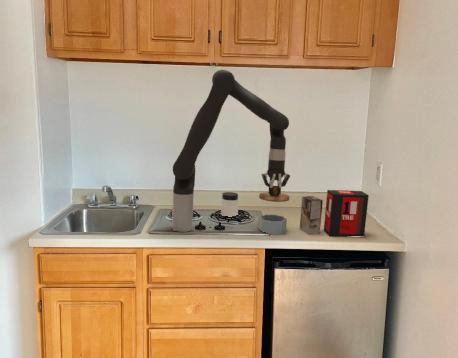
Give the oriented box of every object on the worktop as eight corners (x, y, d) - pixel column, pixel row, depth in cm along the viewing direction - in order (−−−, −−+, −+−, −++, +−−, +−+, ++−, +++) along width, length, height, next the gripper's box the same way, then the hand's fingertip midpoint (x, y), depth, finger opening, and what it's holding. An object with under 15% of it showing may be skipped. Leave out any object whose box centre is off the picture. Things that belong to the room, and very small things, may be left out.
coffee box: (320, 233, 201) (323, 200, 198) (308, 234, 198) (311, 200, 195) (310, 227, 209) (313, 195, 206) (298, 228, 207) (301, 196, 204)
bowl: (263, 234, 195) (264, 221, 194) (256, 226, 207) (257, 214, 205) (288, 234, 197) (289, 221, 196) (280, 226, 209) (281, 214, 208)
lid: (263, 201, 191) (264, 189, 190) (255, 194, 204) (256, 183, 203) (293, 201, 194) (294, 189, 193) (283, 194, 207) (284, 183, 206)
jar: (219, 214, 225) (220, 192, 223) (233, 213, 227) (235, 191, 225) (224, 219, 216) (225, 196, 214) (239, 218, 219) (240, 195, 217)
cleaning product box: (357, 231, 207) (361, 191, 203) (364, 237, 198) (368, 195, 194) (323, 230, 206) (327, 189, 202) (329, 236, 197) (333, 194, 193)
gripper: (264, 159, 190) (262, 197, 194) (294, 160, 193) (291, 197, 197) (259, 157, 198) (257, 193, 201) (288, 157, 200) (286, 193, 204)
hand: (274, 195), depth 199 cm, fingers closed on lid, 3 cm apart
